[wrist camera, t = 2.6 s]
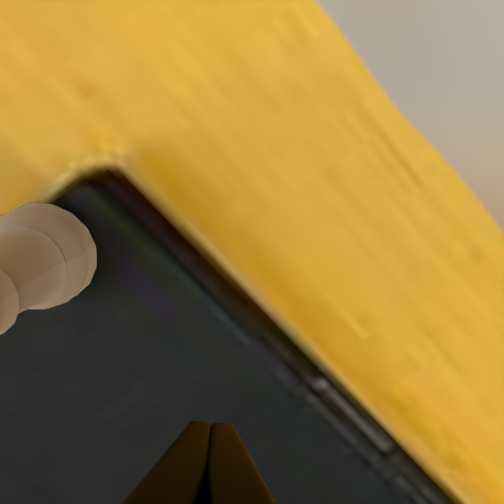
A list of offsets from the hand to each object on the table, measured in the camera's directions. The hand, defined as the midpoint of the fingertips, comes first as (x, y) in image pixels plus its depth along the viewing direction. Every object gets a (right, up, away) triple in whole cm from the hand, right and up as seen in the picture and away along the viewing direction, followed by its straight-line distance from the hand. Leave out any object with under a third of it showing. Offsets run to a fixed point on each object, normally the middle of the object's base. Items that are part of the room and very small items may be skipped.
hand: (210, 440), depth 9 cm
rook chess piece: (-8, +4, +11) cm, 14 cm away
